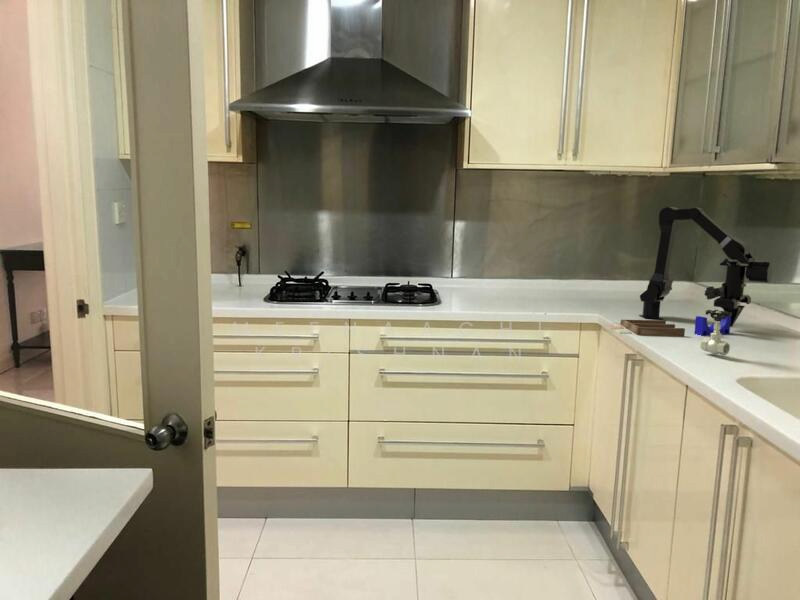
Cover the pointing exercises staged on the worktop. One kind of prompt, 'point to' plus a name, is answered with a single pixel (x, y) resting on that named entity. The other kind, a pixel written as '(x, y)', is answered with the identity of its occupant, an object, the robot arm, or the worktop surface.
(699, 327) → the cable clip
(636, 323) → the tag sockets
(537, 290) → the worktop surface
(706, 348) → the valve
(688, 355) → the worktop surface
